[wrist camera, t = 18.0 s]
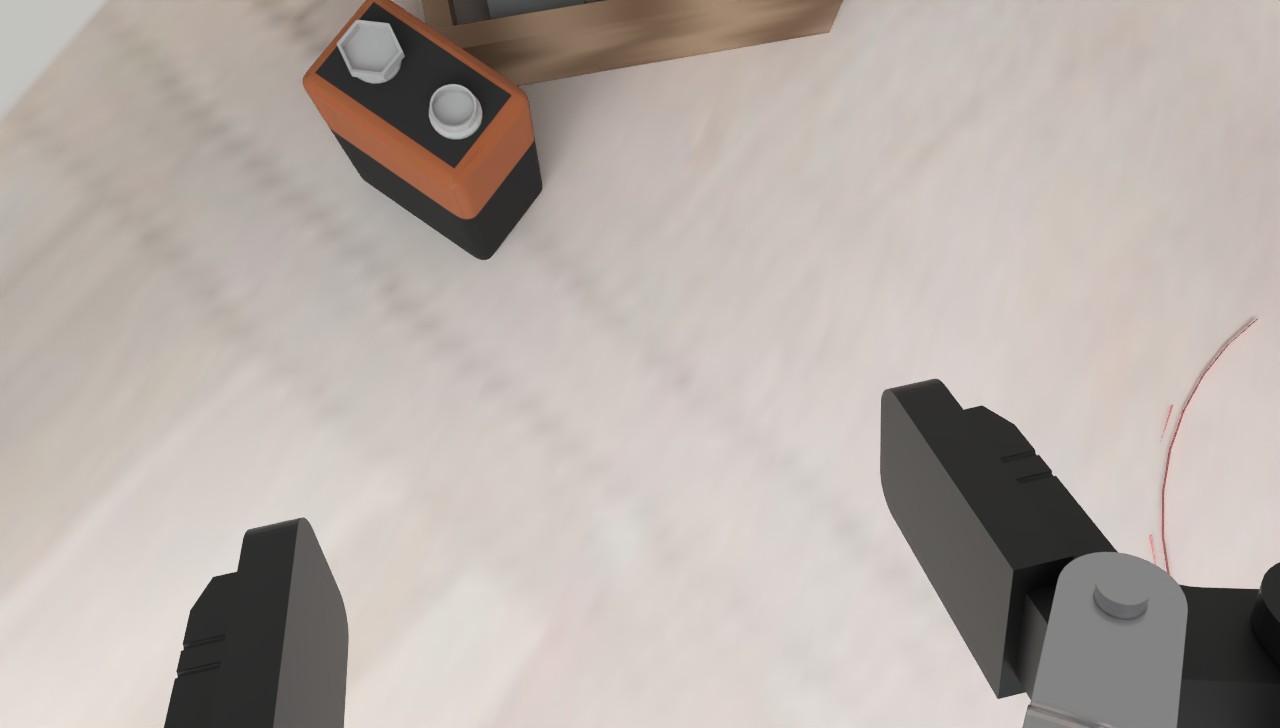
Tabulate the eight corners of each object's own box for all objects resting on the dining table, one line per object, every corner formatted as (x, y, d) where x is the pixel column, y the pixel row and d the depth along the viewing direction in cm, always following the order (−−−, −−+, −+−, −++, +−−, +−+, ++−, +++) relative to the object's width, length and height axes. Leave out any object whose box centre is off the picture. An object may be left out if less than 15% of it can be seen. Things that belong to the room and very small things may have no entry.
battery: (419, 99, 44) (366, -31, 34) (548, 187, 44) (532, 80, 34) (356, 177, 43) (284, 67, 34) (486, 268, 43) (452, 183, 33)
